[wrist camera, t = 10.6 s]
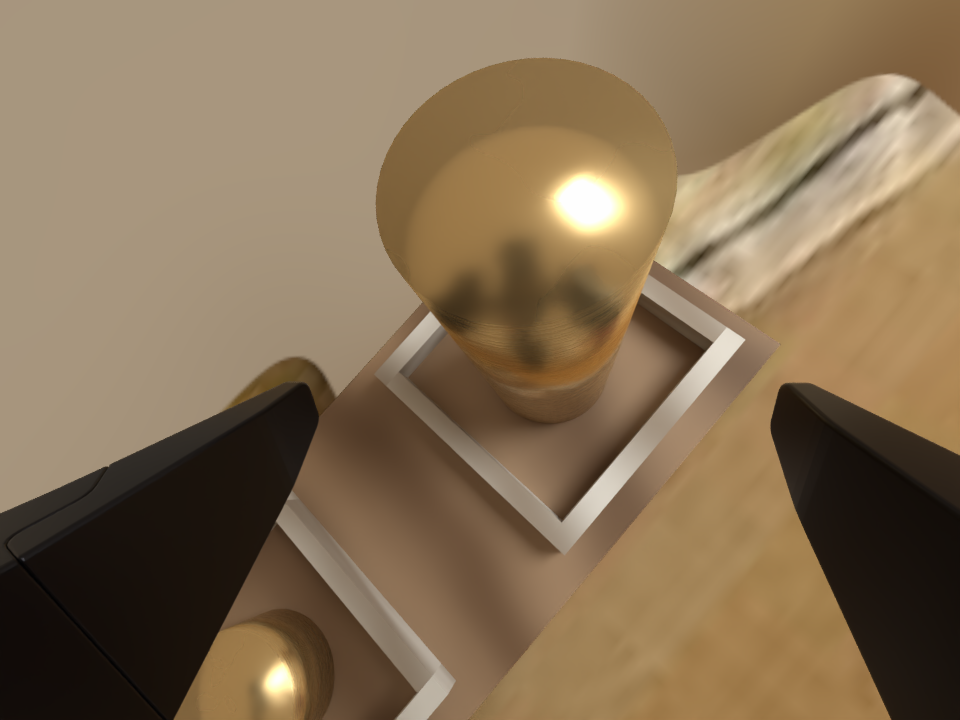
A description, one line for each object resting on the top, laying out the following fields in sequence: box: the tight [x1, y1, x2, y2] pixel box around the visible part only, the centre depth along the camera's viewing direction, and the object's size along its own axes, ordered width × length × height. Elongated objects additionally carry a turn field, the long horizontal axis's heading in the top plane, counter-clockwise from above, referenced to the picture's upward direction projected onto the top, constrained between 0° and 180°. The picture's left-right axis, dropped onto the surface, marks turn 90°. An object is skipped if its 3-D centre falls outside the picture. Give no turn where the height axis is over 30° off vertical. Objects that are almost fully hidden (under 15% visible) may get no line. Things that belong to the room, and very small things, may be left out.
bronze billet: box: [376, 58, 677, 424], centre depth 14 cm, size 5×5×13 cm
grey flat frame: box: [219, 261, 780, 720], centre depth 20 cm, size 30×13×3 cm, turn 138°
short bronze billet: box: [174, 609, 335, 720], centre depth 18 cm, size 5×5×3 cm
